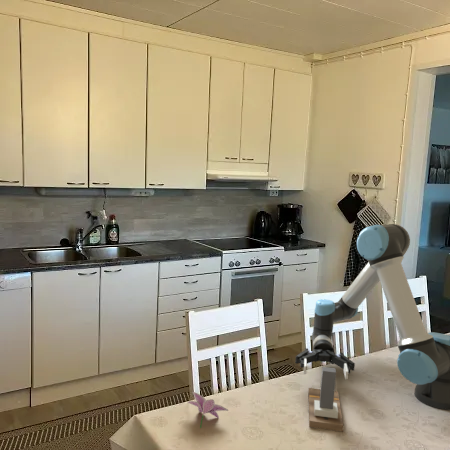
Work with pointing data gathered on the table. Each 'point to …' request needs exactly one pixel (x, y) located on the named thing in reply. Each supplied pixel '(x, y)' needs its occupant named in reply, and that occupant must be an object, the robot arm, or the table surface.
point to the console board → (319, 420)
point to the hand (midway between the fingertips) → (325, 372)
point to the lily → (206, 406)
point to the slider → (327, 395)
